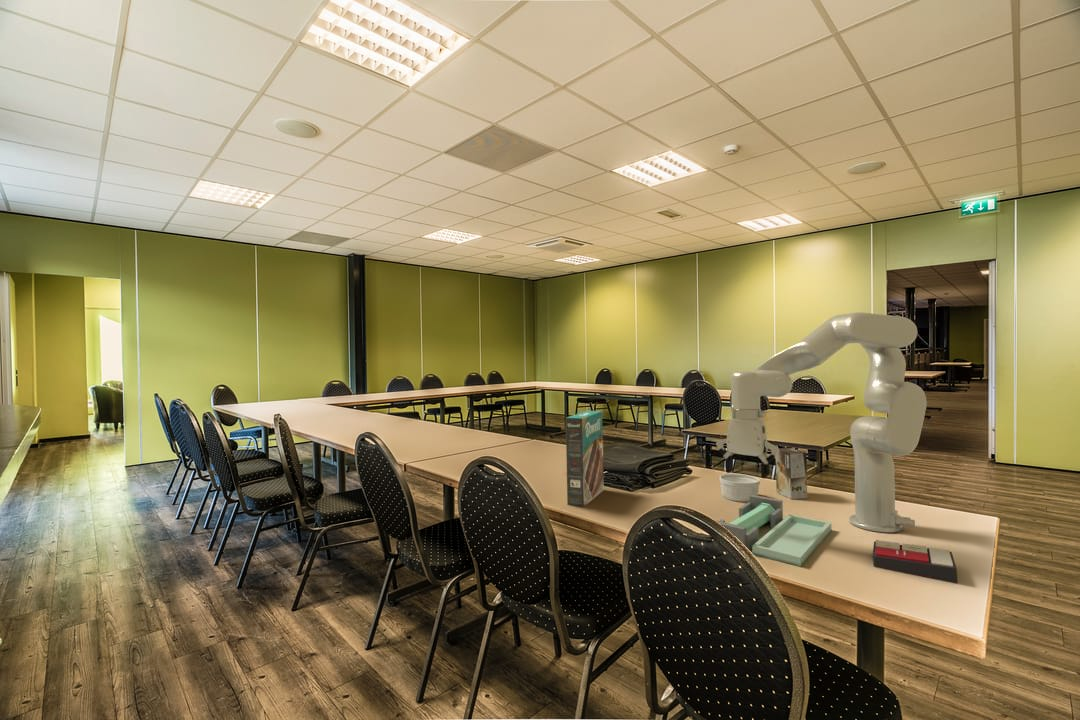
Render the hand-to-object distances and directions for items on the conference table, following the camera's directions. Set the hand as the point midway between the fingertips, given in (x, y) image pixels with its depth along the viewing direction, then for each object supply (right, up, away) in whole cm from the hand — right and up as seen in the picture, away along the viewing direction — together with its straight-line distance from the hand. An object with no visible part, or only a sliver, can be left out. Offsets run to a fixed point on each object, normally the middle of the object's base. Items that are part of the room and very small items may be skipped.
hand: (746, 474), depth 136 cm
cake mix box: (-42, -17, +36) cm, 58 cm away
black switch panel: (+29, -16, -24) cm, 41 cm away
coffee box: (+31, -16, +33) cm, 48 cm away
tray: (+9, -16, -8) cm, 20 cm away
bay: (0, -16, 0) cm, 16 cm away
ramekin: (+11, -16, +32) cm, 38 cm away
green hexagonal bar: (0, -17, 0) cm, 17 cm away
